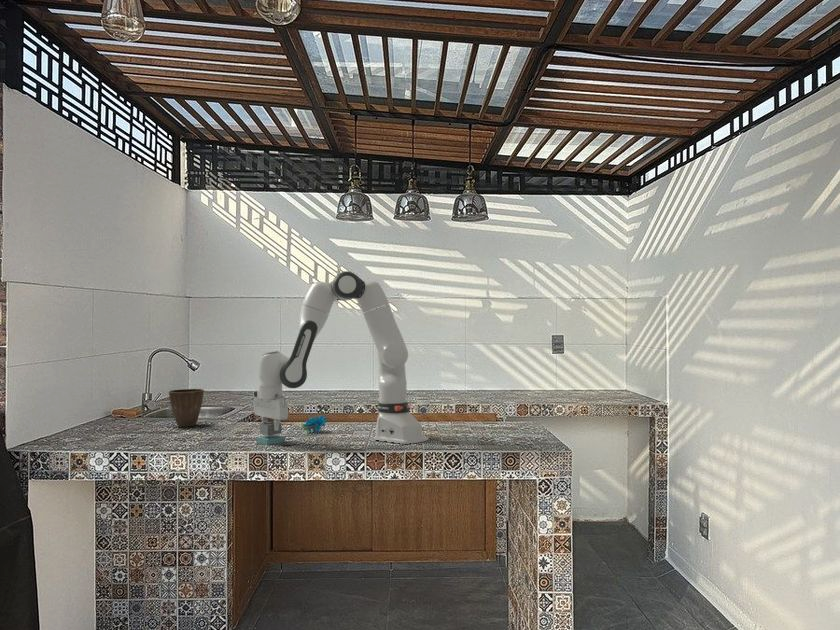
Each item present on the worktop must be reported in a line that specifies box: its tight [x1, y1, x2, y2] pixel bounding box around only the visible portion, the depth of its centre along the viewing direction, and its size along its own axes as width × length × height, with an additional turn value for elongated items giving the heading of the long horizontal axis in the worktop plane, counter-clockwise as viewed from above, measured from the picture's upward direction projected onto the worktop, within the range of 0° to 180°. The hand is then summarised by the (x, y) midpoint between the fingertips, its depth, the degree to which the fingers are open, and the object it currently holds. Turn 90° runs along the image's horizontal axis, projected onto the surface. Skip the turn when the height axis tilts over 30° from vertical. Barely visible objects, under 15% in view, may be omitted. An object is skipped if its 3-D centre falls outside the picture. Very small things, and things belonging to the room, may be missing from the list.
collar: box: [259, 420, 283, 436], centre depth 252 cm, size 6×6×4 cm
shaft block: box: [255, 434, 286, 446], centre depth 252 cm, size 8×8×7 cm
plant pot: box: [168, 388, 205, 428], centre depth 292 cm, size 15×15×16 cm
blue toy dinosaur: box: [301, 414, 328, 434], centre depth 273 cm, size 11×6×10 cm
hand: (270, 429), depth 252 cm, fingers closed on collar, 6 cm apart
